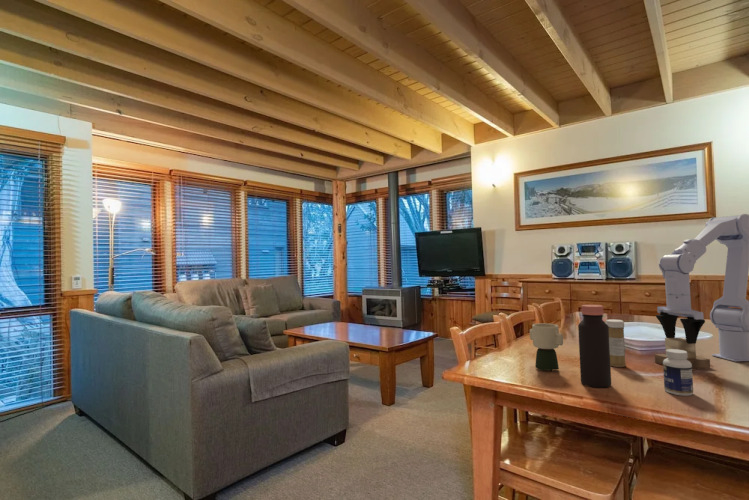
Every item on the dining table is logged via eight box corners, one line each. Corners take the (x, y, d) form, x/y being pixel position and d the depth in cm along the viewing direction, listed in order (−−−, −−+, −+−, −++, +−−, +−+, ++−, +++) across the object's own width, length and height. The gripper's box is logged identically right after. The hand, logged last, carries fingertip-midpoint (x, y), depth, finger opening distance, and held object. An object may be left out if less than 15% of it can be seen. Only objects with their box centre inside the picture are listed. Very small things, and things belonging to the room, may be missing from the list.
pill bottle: (658, 389, 94) (656, 348, 94) (679, 388, 95) (677, 347, 95) (677, 397, 89) (675, 354, 89) (699, 395, 89) (697, 352, 90)
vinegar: (614, 383, 99) (610, 305, 100) (606, 390, 94) (602, 307, 95) (585, 378, 104) (582, 303, 105) (577, 384, 99) (573, 306, 100)
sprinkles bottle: (611, 362, 119) (609, 318, 119) (628, 365, 115) (626, 320, 116) (605, 365, 116) (603, 320, 116) (622, 368, 112) (620, 321, 113)
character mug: (572, 372, 110) (570, 326, 111) (555, 376, 107) (553, 328, 107) (539, 364, 120) (537, 321, 120) (523, 367, 116) (521, 324, 117)
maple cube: (682, 354, 117) (681, 337, 117) (696, 358, 112) (695, 341, 112) (665, 354, 117) (664, 338, 117) (678, 358, 112) (677, 341, 112)
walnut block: (680, 362, 119) (679, 352, 119) (710, 369, 110) (709, 359, 111) (655, 364, 118) (654, 354, 118) (684, 372, 109) (683, 361, 109)
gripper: (646, 293, 122) (649, 336, 121) (684, 297, 107) (687, 346, 107) (668, 292, 122) (671, 335, 122) (709, 296, 108) (712, 345, 107)
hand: (680, 340), depth 114 cm, fingers open, 7 cm apart
